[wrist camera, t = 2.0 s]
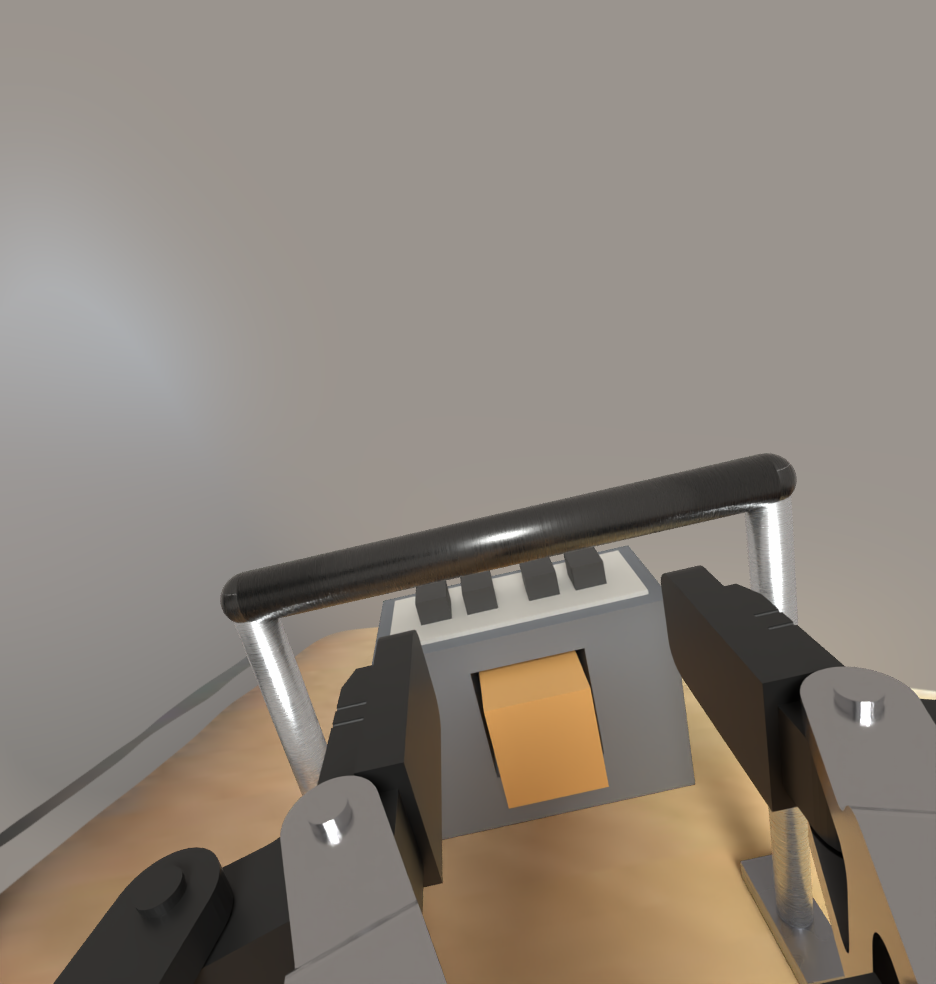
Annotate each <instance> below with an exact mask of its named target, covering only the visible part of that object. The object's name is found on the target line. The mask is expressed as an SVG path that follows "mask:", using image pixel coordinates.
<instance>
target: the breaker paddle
mask: <svg viewBox="0 0 936 984" xmlns="http://www.w3.org/2000/svg"><path fill="white" fill-rule="evenodd" d="M479 675H480V683H481V692H482V700H483V709H484V714H485V718H486V722H487V726H488V730H489V734H490V737H491V741H492V745H493V749H494V753H495V757H496V761H497V765H498V768H499V772H500V776H501V780H502V784H503V788H504V792H505V796H506V799H507V803H508V807H509V809H510V808H514V807H519V806H523V805H528V804H532V803H537V802H542V801H546V800H551V799H555V798H560V797H564V796H569V795H573V794H578V793H583V792H587V791H592V790H596V789H601V788H605V787H609V785H608V779H607V774H606V769H605V763H604V758H603V753H602V747H601V742H600V737H599V731H598V726H597V721H596V715H595V710H594V705H593V699H592V694H591V689H590V686H589V683H588V681H587V678H586V676H585V674H584V671H583V669H582V666H581V664H580V661H579V659H578V656H577V654H576V652H575V650H574V651H569V652H565V653H560V654H556V655H551V656H547V657H542V658H538V659H533V660H529V661H524V662H520V663H516V664H511V665H507V666H502V667H498V668H493V669H489V670H484V671H480V672H479Z"/></svg>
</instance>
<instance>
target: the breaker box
mask: <svg viewBox="0 0 936 984" xmlns="http://www.w3.org/2000/svg"><path fill="white" fill-rule="evenodd" d="M564 558H565V560H562V561H557V562H553V563H552V562H551V560H550V558H549V557H546V558H542V559H537V560H533V561H529V562H524V563H520V569H521V570H518V571H513V572H509V573H504V574H500V575H495V576H491V573H490V570H489V571H485V572H480V573H476V574H471V575H467V576H463V577H460V578H461V583H460V584H456V585H451V586H447V584H446V580H445V581H441V582H436V583H432V584H427V585H423V586H419V587H416V594H412V595H408V596H403V597H399V598H394V599H390V600H385V601H383V606H382V612H381V617H380V623H379V628H378V634H377V639H376V645H375V650H374V656H373V661H372V665H373V663H374V657H375V652H376V646H377V641H378V638H380V637H384V636H388V635H393V634H397V633H402V632H406V631H410V630H416V632H417V634H418V636H419V639H420V642H421V646H422V649H423V653H424V656H425V660H426V663H427V667H428V670H429V674H430V677H431V681H432V684H433V688H434V691H435V695H436V699H437V703H438V708H439V715H440V723H441V790H442V840H443V839H448V838H452V837H457V836H462V835H466V834H471V833H475V832H480V831H484V830H489V829H493V828H498V827H503V826H507V825H512V824H516V823H521V822H525V821H530V820H534V819H539V818H544V817H548V816H553V815H557V814H562V813H566V812H571V811H575V810H580V809H585V808H589V807H594V806H598V805H603V804H607V803H612V802H617V801H621V800H626V799H630V798H635V797H639V796H644V795H648V794H653V793H658V792H662V791H667V790H671V789H676V788H680V787H685V786H689V785H694V784H695V779H694V771H693V764H692V756H691V748H690V740H689V732H688V725H687V717H686V709H685V701H684V693H683V686H682V678H681V675H680V674H679V672H678V670H677V667H676V665H675V663H674V660H673V657H672V654H671V650H670V646H669V641H668V633H667V626H666V618H665V611H664V604H663V596H662V589H661V586H660V584H659V583H658V582H657V580H656V579H655V578H654V577H653V575H652V574H651V573H650V572H649V570H648V569H647V568H646V567H645V566H644V564H643V563H642V562H641V561H640V560H639V558H638V557H637V556H636V555H635V553H634V552H633V551H632V550H631V549H630V547H629V546H623V547H619V548H614V549H610V550H606V551H601V552H597V551H596V550H595V548H594V547H590V548H586V549H581V550H577V551H573V552H568V553H564ZM574 650H575V652H576V654H577V656H578V659H579V661H580V664H581V666H582V669H583V671H584V674H585V676H586V678H587V681H588V683H589V686H590V689H591V694H592V699H593V705H594V710H595V715H596V721H597V726H598V731H599V737H600V742H601V747H602V753H603V758H604V763H605V769H606V774H607V779H608V785H609V787H605V788H601V789H596V790H592V791H587V792H583V793H578V794H573V795H569V796H564V797H560V798H555V799H551V800H546V801H542V802H537V803H532V804H528V805H523V806H519V807H514V808H510V809H509V807H508V803H507V799H506V796H505V792H504V788H503V784H502V780H501V776H500V772H499V768H498V765H497V761H496V757H495V753H494V749H493V745H492V741H491V737H490V734H489V730H488V726H487V722H486V718H485V714H484V709H483V700H482V692H481V683H480V675H479V672H480V671H484V670H489V669H493V668H498V667H502V666H507V665H511V664H516V663H520V662H524V661H529V660H533V659H538V658H542V657H547V656H551V655H556V654H560V653H565V652H569V651H574Z"/></svg>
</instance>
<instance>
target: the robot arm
mask: <svg viewBox="0 0 936 984" xmlns="http://www.w3.org/2000/svg"><path fill="white" fill-rule="evenodd" d="M661 589H662V596H663V604H664V611H665V618H666V626H667V633H668V641H669V646H670V650H671V654H672V657H673V660H674V663H675V665H676V667H677V670H678V672H679V674H680V675H681V677H682V678H683V680H684V681H685V683H686V684H687V686H688V687H689V689H690V690H691V692H692V693H693V695H694V696H695V698H696V699H697V701H698V702H699V704H700V705H701V706H702V708H703V709H704V711H705V712H706V714H707V715H708V717H709V718H710V720H711V721H712V723H713V724H714V726H715V727H716V729H717V730H718V732H719V733H720V735H721V736H722V738H723V739H724V741H725V742H726V744H727V745H728V747H729V748H730V750H731V751H732V753H733V754H734V756H735V757H736V759H737V760H738V762H739V763H740V765H741V766H742V768H743V769H744V771H745V772H746V773H747V775H748V776H749V778H750V779H751V781H752V782H753V784H754V785H755V787H756V788H757V790H758V791H759V793H760V794H761V796H762V797H763V799H764V800H765V802H766V803H767V805H768V806H769V808H770V809H771V811H772V812H776V811H780V810H785V809H789V808H794V807H798V808H799V810H800V811H801V812H802V814H803V815H804V816H805V818H806V819H807V826H808V840H809V846H810V849H811V853H812V857H813V860H814V864H815V868H816V871H817V875H818V879H819V882H820V886H821V890H822V893H823V897H824V901H825V905H826V908H827V912H828V916H829V919H830V923H831V927H832V930H833V934H834V938H835V941H836V945H837V949H838V952H839V956H840V960H841V963H842V967H843V971H844V975H845V978H844V979H839V980H835V981H830V982H825V983H821V984H936V700H929V699H919V697H918V696H917V695H916V693H915V692H914V691H912V690H911V689H910V688H909V687H908V686H906V685H905V684H903V683H902V682H900V681H899V680H897V679H895V678H893V677H891V676H888V675H886V674H883V673H880V672H877V671H873V670H869V669H864V668H857V667H845V666H844V665H842V663H840V662H839V661H838V660H837V659H836V658H835V657H833V656H832V655H831V654H830V653H829V652H828V651H827V650H825V649H824V648H823V647H822V646H821V645H820V644H818V643H817V642H816V641H815V640H814V639H812V638H811V637H810V636H809V635H808V634H807V633H806V632H804V630H802V629H801V628H800V627H799V626H798V625H794V623H793V621H792V620H791V619H790V618H789V617H787V616H786V615H785V614H784V613H783V612H779V609H778V608H777V607H776V606H775V605H774V604H772V603H771V602H770V601H769V600H768V599H767V598H765V597H764V596H763V595H762V594H760V593H758V592H755V591H753V590H750V589H748V588H745V587H743V586H740V585H738V584H733V585H728V586H723V585H722V584H721V583H720V582H719V581H718V580H717V579H716V578H715V577H714V576H713V575H712V574H710V573H709V572H708V571H707V570H706V569H705V568H704V567H703V566H695V567H691V568H687V569H682V570H678V571H673V572H669V573H664V574H663V575H662V577H661ZM441 883H442V790H441V723H440V715H439V708H438V703H437V699H436V695H435V691H434V688H433V684H432V681H431V677H430V674H429V670H428V667H427V663H426V660H425V656H424V653H423V649H422V646H421V642H420V639H419V636H418V634H417V632H416V630H410V631H406V632H402V633H397V634H393V635H388V636H384V637H380V638H378V641H377V646H376V652H375V657H374V663H373V665H371V666H367V667H362V668H358V669H356V670H355V671H354V673H353V674H352V675H351V676H350V678H349V679H348V680H347V682H346V683H345V684H344V686H343V687H342V689H341V692H340V696H339V700H338V704H337V711H336V712H335V716H334V720H333V728H331V732H330V736H329V740H328V744H327V748H326V752H325V756H324V760H323V764H322V768H321V772H320V776H319V780H318V784H317V786H316V787H314V788H313V789H311V790H310V791H308V792H307V793H306V794H305V795H303V796H302V797H301V798H300V799H299V800H298V801H297V802H296V803H295V804H294V806H293V807H292V808H291V810H290V811H289V812H288V814H287V816H286V818H285V820H284V822H283V825H282V828H281V833H280V838H278V839H277V840H275V841H274V842H272V843H270V844H268V845H267V846H265V847H263V848H261V849H259V850H257V851H255V852H253V853H251V854H249V855H247V856H245V857H243V858H241V859H239V860H237V861H235V862H233V863H231V864H229V865H227V866H225V867H223V868H222V867H221V864H220V862H219V860H218V858H217V857H216V855H215V854H214V853H213V852H211V851H210V850H208V849H205V848H188V849H183V850H180V851H177V852H174V853H172V854H170V855H168V856H166V857H164V858H162V859H160V860H158V861H157V862H155V863H154V864H152V865H151V866H149V867H148V868H147V869H145V870H144V871H143V872H142V873H140V874H139V875H138V876H137V877H136V878H135V879H134V880H133V881H132V882H131V883H130V884H129V885H128V886H127V887H126V888H125V889H124V891H123V892H122V893H121V894H120V895H119V897H118V898H117V899H116V901H115V902H114V903H113V905H112V906H111V907H110V909H109V910H108V911H107V913H106V914H105V915H104V917H103V918H102V919H101V921H100V922H99V923H98V925H97V926H96V927H95V929H94V930H93V931H92V933H91V934H90V935H89V937H88V938H87V939H86V941H85V942H84V943H83V945H82V946H81V947H80V949H79V950H78V951H77V953H76V954H75V955H74V957H73V958H72V959H71V961H70V962H69V963H68V965H67V966H66V967H65V969H64V970H63V971H62V973H61V974H60V975H59V977H58V978H57V979H56V981H55V982H54V983H53V984H447V983H446V980H445V977H444V974H443V972H442V969H441V966H440V963H439V960H438V958H437V955H436V952H435V949H434V946H433V944H432V941H431V938H430V935H429V932H428V930H427V927H426V924H425V921H424V918H423V916H422V909H423V887H427V886H431V885H436V884H441Z"/></svg>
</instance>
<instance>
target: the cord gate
mask: <svg viewBox="0 0 936 984" xmlns="http://www.w3.org/2000/svg"><path fill="white" fill-rule="evenodd" d="M795 486H796V473H795V470H794V468H793V467H792V465H791V464H790V463H789V462H788V461H787V460H786V459H784V458H783V457H781V456H778V455H775V454H769V453H765V454H758V455H753V456H749V457H745V458H740V459H736V460H731V461H727V462H723V463H719V464H714V465H710V466H705V467H701V468H697V469H692V470H688V471H684V472H679V473H675V474H670V475H666V476H661V477H657V478H653V479H648V480H644V481H640V482H635V483H631V484H626V485H623V486H618V487H613V488H609V489H605V490H600V491H596V492H592V493H588V494H583V495H579V496H574V497H570V498H565V499H562V500H557V501H552V502H548V503H543V504H539V505H535V506H530V507H526V508H522V509H517V510H513V511H509V512H504V513H500V514H495V515H491V516H487V517H482V518H478V519H474V520H469V521H465V522H461V523H456V524H452V525H447V526H443V527H439V528H434V529H430V530H425V531H421V532H417V533H412V534H408V535H404V536H399V537H395V538H391V539H386V540H382V541H378V542H373V543H369V544H364V545H360V546H355V547H351V548H347V549H343V550H338V551H334V552H329V553H325V554H320V555H316V556H312V557H308V558H303V559H299V560H294V561H290V562H286V563H281V564H277V565H273V566H268V567H264V568H259V569H255V570H251V571H246V572H242V573H240V574H237V575H235V576H233V577H232V578H231V579H230V580H229V581H228V582H227V583H226V584H225V586H224V587H223V590H222V592H221V600H220V602H221V607H222V609H223V612H224V614H225V615H226V616H227V617H228V618H229V619H230V620H232V621H233V622H234V624H235V627H236V629H237V632H238V634H239V637H240V639H241V642H242V644H243V647H244V650H245V652H246V655H247V657H248V660H249V662H250V665H251V667H252V670H253V672H254V675H255V677H256V680H257V682H258V685H259V687H260V690H261V692H262V695H263V697H264V700H265V702H266V705H267V708H268V710H269V713H270V715H271V718H272V720H273V723H274V725H275V728H276V730H277V733H278V735H279V738H280V740H281V743H282V745H283V748H284V750H285V753H286V755H287V758H288V760H289V763H290V766H291V768H292V771H293V773H294V776H295V778H296V781H297V783H298V786H299V788H300V791H301V793H302V796H303V795H305V794H306V793H307V792H308V791H310V790H311V789H313V788H314V787H316V786H317V784H318V780H319V776H320V772H321V768H322V764H323V760H324V756H325V752H326V748H327V744H326V741H325V738H324V736H323V733H322V730H321V728H320V725H319V722H318V719H317V717H316V714H315V711H314V709H313V706H312V703H311V700H310V698H309V695H308V692H307V689H306V687H305V684H304V681H303V679H302V676H301V673H300V670H299V668H298V665H297V662H296V660H295V657H294V654H293V651H292V649H291V646H290V643H289V641H288V638H287V635H286V632H285V630H284V627H283V624H282V622H281V619H280V618H282V617H287V616H291V615H295V614H300V613H304V612H309V611H313V610H317V609H322V608H326V607H330V606H335V605H339V604H344V603H348V602H352V601H357V600H361V599H366V598H370V597H374V596H379V595H383V594H388V593H392V592H396V591H401V590H405V589H409V588H414V587H419V586H423V585H427V584H432V583H436V582H441V581H445V580H449V579H454V578H458V577H463V576H467V575H471V574H476V573H480V572H485V571H489V570H493V569H498V568H502V567H506V566H511V565H515V564H520V563H524V562H529V561H533V560H537V559H542V558H546V557H551V556H555V555H559V554H564V553H568V552H573V551H577V550H581V549H586V548H590V547H594V546H599V545H604V544H608V543H612V542H616V541H621V540H625V539H629V538H634V537H639V536H643V535H648V534H652V533H656V532H661V531H664V530H670V529H674V528H678V527H683V526H687V525H691V524H696V523H700V522H705V521H709V520H714V519H718V518H722V517H727V516H731V515H735V514H740V513H744V512H745V522H746V533H747V547H748V559H749V571H750V583H751V590H753V591H755V592H758V593H760V594H762V595H763V596H764V597H765V598H767V599H768V600H769V601H770V602H771V603H772V604H774V605H775V606H776V607H777V608H778V609H779V612H783V613H784V614H785V615H786V616H787V617H789V618H790V619H791V620H792V621H793V623H794V625H798V616H797V597H796V578H795V560H794V540H793V523H792V522H793V521H792V502H791V494H792V493H793V491H794V489H795ZM768 809H769V822H770V834H771V846H772V855H767V856H763V857H758V858H753V859H749V860H744V861H740V863H741V873H742V878H743V880H744V882H745V884H746V886H747V888H748V889H749V891H750V893H751V895H752V897H753V899H754V901H755V902H756V904H757V906H758V908H759V910H760V912H761V913H762V915H763V917H764V919H765V921H766V923H767V925H768V926H769V928H770V930H771V932H772V934H773V936H774V938H775V939H776V941H777V943H778V945H779V947H780V949H781V951H782V952H783V954H784V956H785V958H786V960H787V962H788V964H789V965H790V967H791V969H792V971H793V973H794V975H795V977H796V978H797V980H798V982H799V984H821V983H825V982H830V981H835V980H839V979H844V978H845V975H844V971H843V967H842V963H841V960H840V956H839V952H838V949H837V945H836V941H835V938H834V934H833V930H832V927H831V925H830V923H829V922H828V920H827V918H826V917H825V915H824V914H823V912H822V911H821V909H820V908H819V906H818V904H817V903H816V901H815V900H814V898H813V897H812V879H811V860H810V846H809V840H808V826H807V819H806V818H805V816H804V815H803V814H802V812H801V811H800V810H799V808H798V807H794V808H789V809H785V810H780V811H776V812H772V811H771V809H770V808H769V806H768Z"/></svg>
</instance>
